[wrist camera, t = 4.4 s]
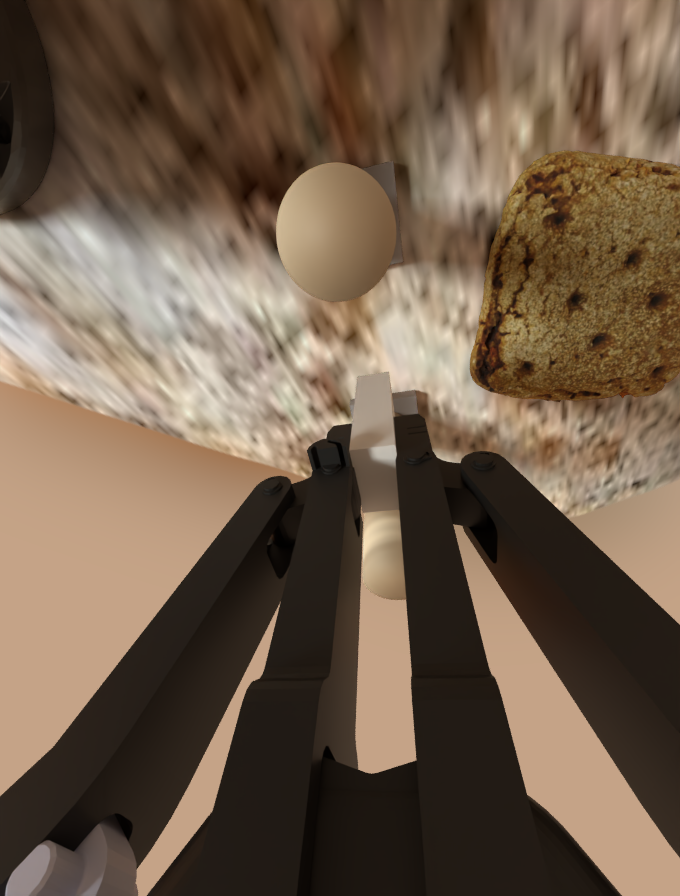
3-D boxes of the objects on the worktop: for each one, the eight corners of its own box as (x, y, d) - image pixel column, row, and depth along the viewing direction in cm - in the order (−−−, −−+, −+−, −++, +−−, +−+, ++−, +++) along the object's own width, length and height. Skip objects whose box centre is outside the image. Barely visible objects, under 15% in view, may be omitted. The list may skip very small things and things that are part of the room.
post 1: (325, 276, 24) (273, 346, 11) (306, 184, 21) (214, 144, 9) (402, 260, 23) (437, 316, 11) (392, 162, 21) (424, 83, 8)
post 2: (361, 452, 31) (353, 613, 19) (350, 399, 29) (333, 545, 16) (420, 444, 30) (454, 608, 18) (414, 389, 28) (450, 535, 15)
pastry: (783, 304, 23) (833, 315, 21) (526, 449, 30) (539, 470, 28) (696, 12, 17) (752, -23, 15) (398, 279, 24) (401, 287, 22)
